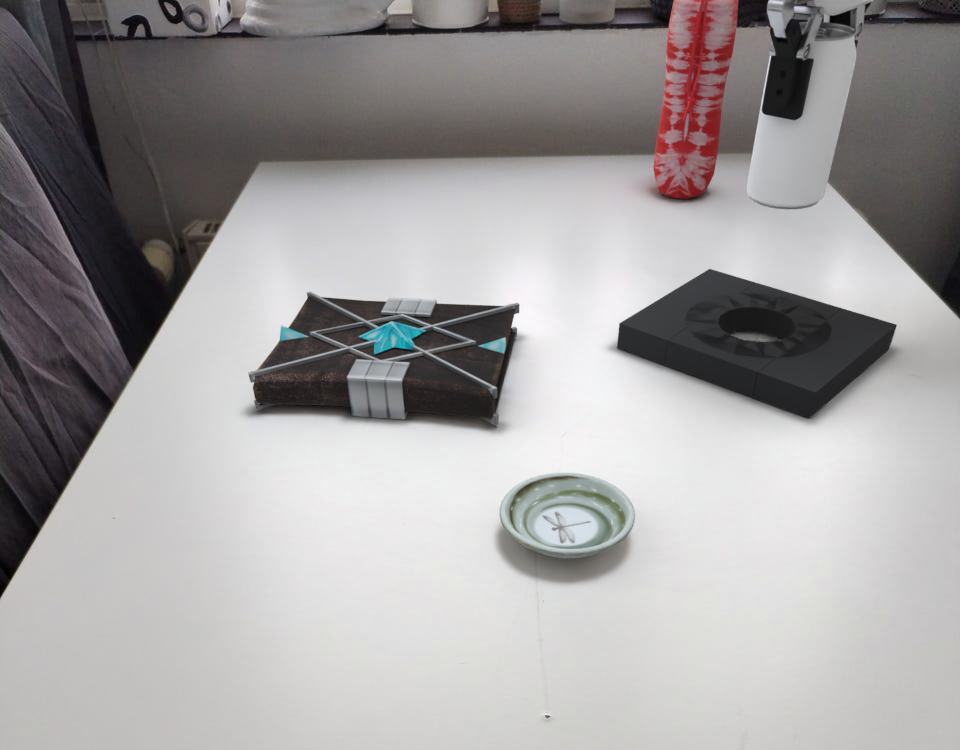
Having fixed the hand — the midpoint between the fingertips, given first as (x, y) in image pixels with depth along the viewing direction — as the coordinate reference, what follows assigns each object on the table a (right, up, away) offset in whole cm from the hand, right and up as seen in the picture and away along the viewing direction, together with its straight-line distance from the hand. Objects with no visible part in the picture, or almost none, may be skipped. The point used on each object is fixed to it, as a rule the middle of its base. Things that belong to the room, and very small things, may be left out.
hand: (803, 103), depth 71 cm
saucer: (-20, -35, -5) cm, 41 cm away
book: (-34, -18, +12) cm, 40 cm away
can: (0, -5, +5) cm, 7 cm away
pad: (0, -15, +14) cm, 20 cm away
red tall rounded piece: (0, +16, +45) cm, 48 cm away
